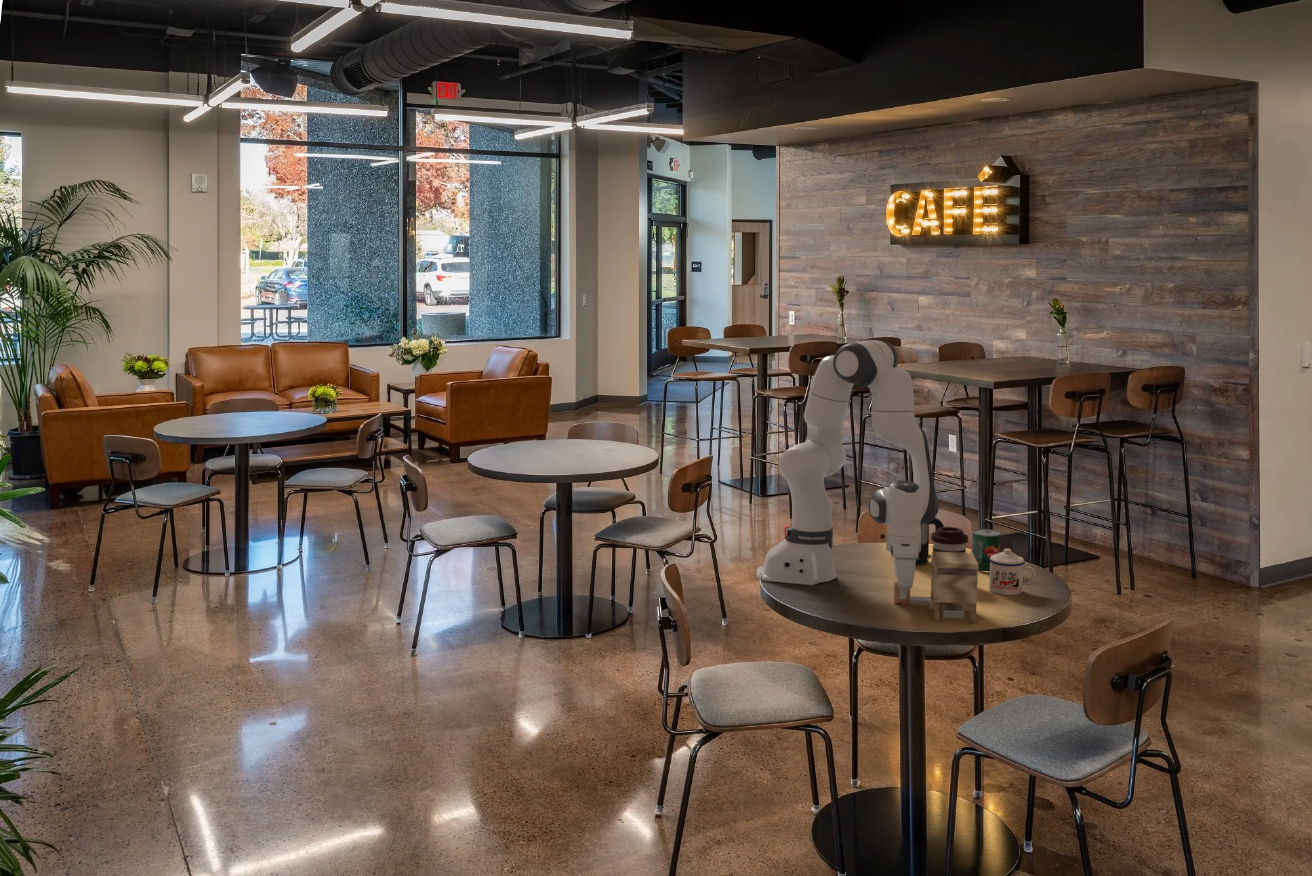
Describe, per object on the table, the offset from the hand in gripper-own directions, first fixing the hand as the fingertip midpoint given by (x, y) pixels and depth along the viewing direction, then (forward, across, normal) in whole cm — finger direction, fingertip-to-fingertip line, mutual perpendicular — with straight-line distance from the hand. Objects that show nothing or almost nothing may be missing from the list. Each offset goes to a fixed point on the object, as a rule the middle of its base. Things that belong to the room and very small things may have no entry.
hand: (901, 594), depth 289 cm
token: (+2, +10, +12) cm, 15 cm away
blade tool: (+2, 0, +7) cm, 7 cm away
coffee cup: (+2, -21, +14) cm, 25 cm away
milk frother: (+2, -45, +6) cm, 45 cm away
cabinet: (+2, +10, +12) cm, 15 cm away
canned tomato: (+2, -36, +26) cm, 44 cm away
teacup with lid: (+2, -14, +30) cm, 33 cm away
